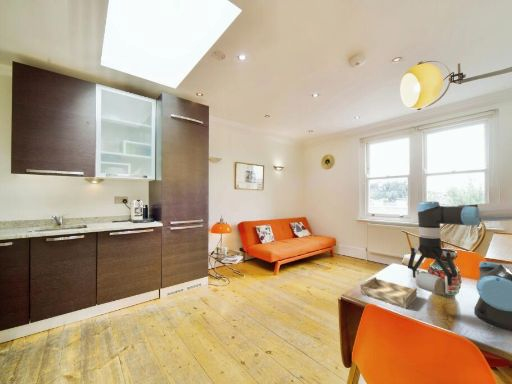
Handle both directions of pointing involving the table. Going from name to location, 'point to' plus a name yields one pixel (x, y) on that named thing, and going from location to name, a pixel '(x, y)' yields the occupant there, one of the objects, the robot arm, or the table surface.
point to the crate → (389, 292)
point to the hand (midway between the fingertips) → (431, 288)
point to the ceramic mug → (430, 283)
